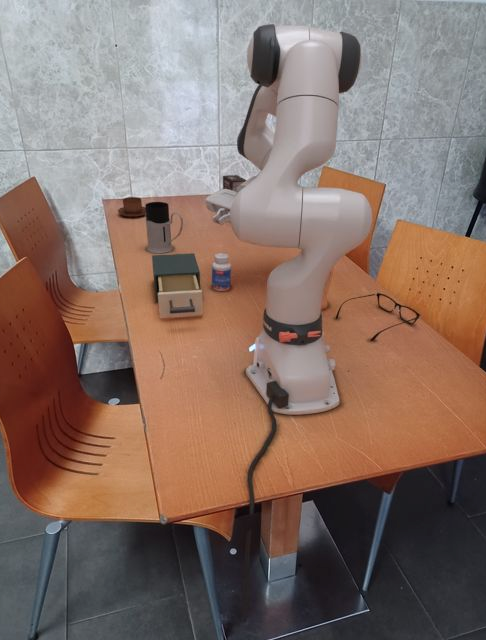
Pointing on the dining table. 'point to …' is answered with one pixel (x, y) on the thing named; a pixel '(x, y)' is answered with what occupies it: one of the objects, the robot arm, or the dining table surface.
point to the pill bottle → (221, 272)
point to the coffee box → (232, 182)
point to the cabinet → (174, 267)
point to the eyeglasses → (387, 311)
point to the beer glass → (326, 290)
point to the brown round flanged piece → (132, 207)
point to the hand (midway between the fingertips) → (216, 221)
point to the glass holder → (159, 227)
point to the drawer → (179, 296)
